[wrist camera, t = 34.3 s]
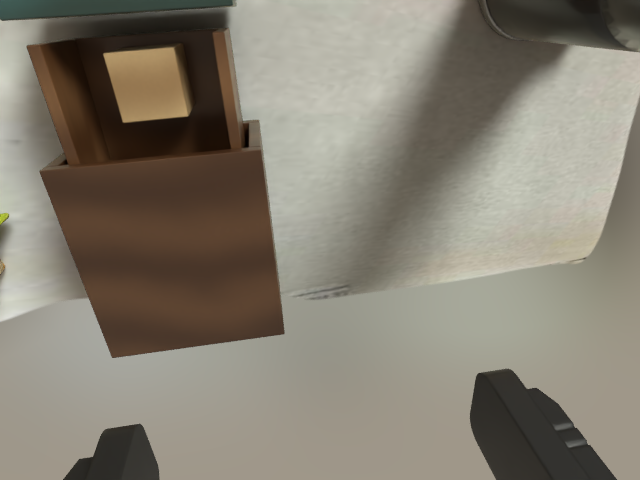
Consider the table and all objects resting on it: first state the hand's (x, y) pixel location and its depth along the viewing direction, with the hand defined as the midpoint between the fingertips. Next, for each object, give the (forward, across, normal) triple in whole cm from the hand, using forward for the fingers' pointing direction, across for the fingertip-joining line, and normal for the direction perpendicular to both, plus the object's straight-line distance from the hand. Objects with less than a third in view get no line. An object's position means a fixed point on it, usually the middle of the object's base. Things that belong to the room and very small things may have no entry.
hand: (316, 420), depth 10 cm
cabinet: (+32, +8, +8) cm, 34 cm away
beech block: (+30, +8, -4) cm, 31 cm away
